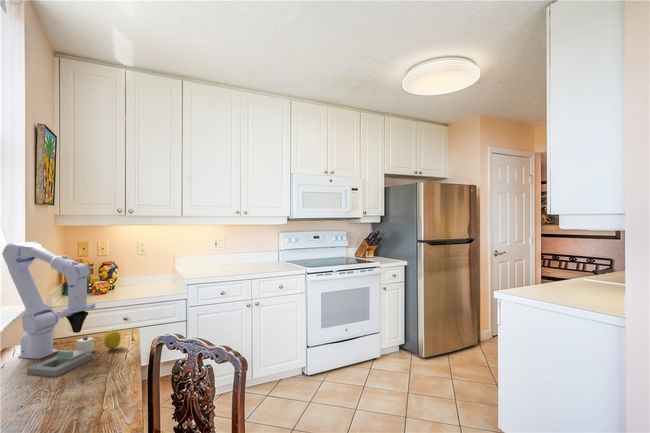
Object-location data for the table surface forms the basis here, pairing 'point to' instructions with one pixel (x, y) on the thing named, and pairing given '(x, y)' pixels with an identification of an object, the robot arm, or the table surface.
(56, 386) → the table surface
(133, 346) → the table surface
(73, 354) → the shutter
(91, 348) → the plug
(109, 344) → the lemon
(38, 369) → the socket plate
